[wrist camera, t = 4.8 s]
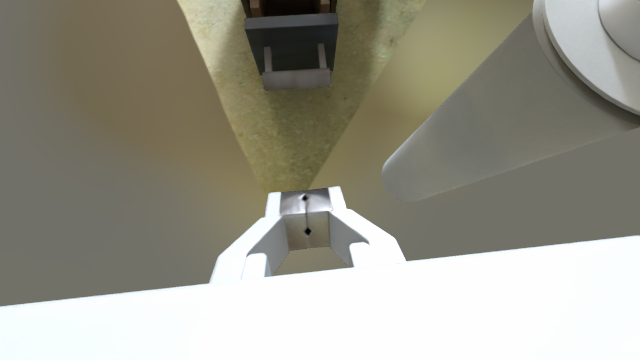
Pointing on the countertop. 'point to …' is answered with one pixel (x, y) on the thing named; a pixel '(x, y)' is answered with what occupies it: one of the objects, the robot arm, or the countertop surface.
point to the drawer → (293, 42)
